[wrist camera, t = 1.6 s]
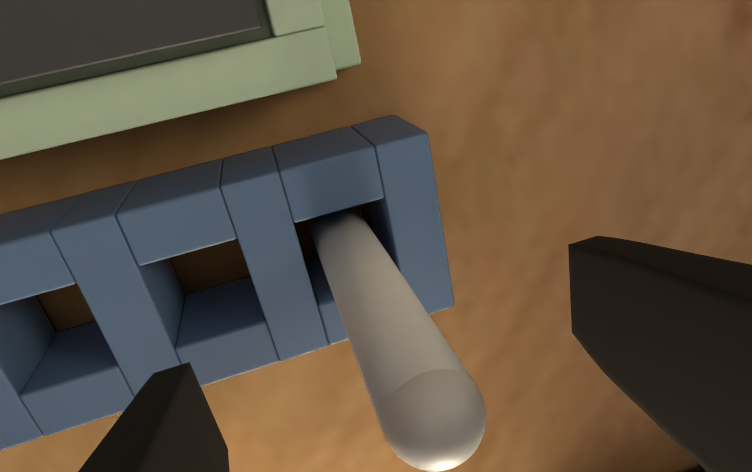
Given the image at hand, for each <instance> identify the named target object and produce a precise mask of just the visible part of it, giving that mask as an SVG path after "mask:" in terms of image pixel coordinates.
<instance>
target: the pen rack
mask: <svg viewBox="0 0 752 472" xmlns="http://www.w3.org/2000/svg"><path fill="white" fill-rule="evenodd" d="M365 203H368V207H369V212H370V216H371V221H372V225H373V230H374V234H375V236H376V237H377V239H378V240H379V241H380V243H381V244H382V246H383V247H384V249H385V250H386V252H387V253H388V255H389V256H390V258H391V259H392V261H393V262H394V264H395V265H396V267H397V268H398V270H399V271H400V273H401V274H402V276H403V277H404V278H405V280H406V281H407V283H408V284H409V286H410V287H411V289H412V290H413V292H414V293H415V295H416V296H417V298H418V299H419V301H420V302H421V304H422V305H423V307H424V308H425V310H426V311H427V313H428V314H431V313H434V312H437V311H441V310H444V309H447V308H450V307H453V306H454V297H453V291H452V285H451V278H450V272H449V265H448V259H447V253H446V246H445V240H444V233H443V227H442V221H441V214H440V208H439V201H438V195H437V189H436V182H435V176H434V169H433V163H432V156H431V150H430V144H429V137H428V133H427V132H426V131H424V130H422V129H420V128H418V127H416V126H414V125H412V124H410V123H409V122H407V121H405V120H403V119H401V118H399V117H397V116H395V115H391V116H387V117H383V118H379V119H375V120H371V121H367V122H364V123H360V124H356V125H352V126H351V127H344V128H340V129H336V130H332V131H328V132H325V133H321V134H317V135H313V136H309V137H305V138H301V139H297V140H293V141H289V142H285V143H281V144H277V145H274V146H272V148H271V147H270V146H269V147H265V148H261V149H257V150H253V151H249V152H245V153H241V154H237V155H233V156H229V157H225V158H224V159H223V160H222V159H219V160H215V161H211V162H207V163H203V164H199V165H195V166H191V167H187V168H183V169H179V170H175V171H171V172H167V173H163V174H160V175H156V176H152V177H148V178H144V179H140V180H139V181H138V182H137V181H131V182H127V183H123V184H119V185H116V186H112V187H108V188H104V189H100V190H96V191H92V192H88V193H86V194H85V195H83V194H81V195H77V196H73V197H69V198H65V199H61V200H57V201H53V202H49V203H45V204H41V205H37V206H34V207H30V208H26V209H22V210H18V211H14V212H10V213H6V214H2V215H0V451H1V450H4V449H7V448H10V447H13V446H16V445H19V444H22V443H26V442H29V441H32V440H35V439H38V438H41V437H42V436H44V435H45V436H48V435H51V434H54V433H58V432H61V431H64V430H67V429H70V428H73V427H76V426H80V425H83V424H86V423H89V422H92V421H95V420H98V419H101V418H105V417H108V416H111V415H114V414H117V413H120V412H123V411H125V409H126V408H127V407H128V405H129V404H130V402H131V401H132V400H133V398H134V397H135V396H136V394H137V393H138V392H139V390H140V389H141V388H142V387H143V385H144V384H145V383H146V381H147V380H148V379H149V378H150V377H151V376H152V374H153V373H155V372H159V371H162V370H165V369H168V368H172V367H175V366H178V365H181V364H185V363H188V362H190V364H191V366H192V368H193V371H194V373H195V375H196V378H197V380H198V382H199V384H200V387H202V386H205V385H208V384H211V383H214V382H217V381H220V380H224V379H227V378H230V377H233V376H236V375H239V374H242V373H246V372H249V371H252V370H255V369H258V368H261V367H264V366H268V365H271V364H274V363H277V362H279V360H280V361H284V360H288V359H291V358H294V357H297V356H300V355H303V354H306V353H309V352H313V351H316V350H319V349H322V348H325V347H328V345H329V344H330V345H333V344H336V343H339V342H342V341H345V340H348V339H349V338H348V335H347V333H346V330H345V327H344V324H343V322H342V319H341V316H340V313H339V311H338V308H337V305H336V302H335V299H334V297H333V294H332V291H331V288H330V286H329V283H328V280H327V277H326V275H325V272H324V269H323V266H322V263H321V261H320V258H319V257H316V258H312V259H309V260H306V261H304V258H303V254H302V251H301V247H300V244H299V241H298V237H297V234H296V230H295V227H294V223H293V221H294V222H300V221H304V220H307V219H311V218H314V217H318V216H321V215H325V214H329V213H332V212H336V211H339V210H343V209H347V208H350V207H354V206H357V205H361V204H365ZM236 238H238V241H239V244H240V247H241V250H242V252H243V255H244V258H245V261H246V264H247V267H248V270H249V273H250V277H246V278H243V279H240V280H236V281H233V282H229V283H226V284H222V285H219V286H215V287H212V288H209V289H205V290H202V291H198V292H195V293H191V294H188V295H186V297H185V295H184V293H183V290H182V288H181V285H180V283H179V280H178V278H177V276H176V273H175V271H174V268H173V266H172V264H171V261H170V259H169V258H170V257H174V256H177V255H181V254H185V253H188V252H192V251H195V250H199V249H202V248H206V247H210V246H213V245H217V244H220V243H224V242H228V241H231V240H235V239H236ZM75 283H77V285H78V287H79V288H80V290H81V292H82V294H83V296H84V298H85V300H86V302H87V304H88V306H89V308H90V310H91V312H92V314H93V316H94V318H95V320H96V321H95V322H92V323H88V324H85V325H81V326H78V327H74V328H71V329H68V330H64V331H61V332H58V333H57V334H56V332H55V330H54V328H53V327H52V325H51V323H50V321H49V319H48V318H47V316H46V314H45V312H44V310H43V309H42V307H41V305H40V303H39V301H38V300H37V298H36V296H35V295H38V294H41V293H45V292H48V291H52V290H56V289H59V288H63V287H66V286H70V285H74V284H75ZM328 343H329V344H328Z"/></svg>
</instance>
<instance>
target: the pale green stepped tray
mask: <svg viewBox="0 0 752 472" xmlns="http://www.w3.org/2000/svg"><path fill="white" fill-rule="evenodd" d="M255 3H256V6H257V10H258V14H259V17H260V21H261V27H260V28H259V29H254V30H250V31H245V32H240V33H236V34H231V35H227V36H222V37H218V38H213V39H208V40H204V41H199V42H195V43H190V44H185V45H181V46H176V47H172V48H167V49H163V50H158V51H153V52H149V53H144V54H140V55H135V56H130V57H126V58H121V59H117V60H112V61H108V62H103V63H98V64H94V65H89V66H85V67H80V68H76V69H71V70H66V71H62V72H57V73H53V74H48V75H43V76H39V77H34V78H30V79H25V80H21V81H16V82H11V83H7V84H2V85H0V160H2V159H6V158H10V157H14V156H18V155H23V154H27V153H31V152H35V151H39V150H44V149H48V148H52V147H56V146H60V145H65V144H69V143H73V142H77V141H81V140H85V139H90V138H94V137H98V136H102V135H106V134H111V133H115V132H119V131H123V130H127V129H132V128H136V127H140V126H144V125H148V124H152V123H157V122H161V121H165V120H169V119H173V118H178V117H182V116H186V115H190V114H194V113H198V112H203V111H207V110H211V109H215V108H219V107H224V106H228V105H232V104H236V103H240V102H245V101H249V100H253V99H257V98H261V97H265V96H270V95H274V94H278V93H282V92H286V91H291V90H295V89H299V88H303V87H307V86H312V85H316V84H320V83H324V82H328V81H332V80H336V79H337V74H336V71H337V70H341V69H346V68H350V67H354V66H358V65H360V64H361V57H360V52H359V47H358V42H357V37H356V32H355V27H354V22H353V17H352V12H351V7H350V2H349V0H255Z"/></svg>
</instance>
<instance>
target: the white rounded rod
mask: <svg viewBox="0 0 752 472" xmlns="http://www.w3.org/2000/svg"><path fill="white" fill-rule="evenodd" d="M309 229H310V233H311V236H312V239H313V241H314V244H315V247H316V250H317V252H318V255H319V258H320V261H321V263H322V266H323V269H324V272H325V275H326V277H327V280H328V283H329V286H330V288H331V291H332V294H333V297H334V299H335V302H336V305H337V308H338V311H339V313H340V316H341V319H342V322H343V324H344V327H345V330H346V333H347V335H348V338H349V341H350V344H351V347H352V349H353V352H354V355H355V358H356V360H357V363H358V366H359V369H360V372H361V374H362V377H363V380H364V383H365V385H366V388H367V391H368V394H369V396H370V399H371V402H372V405H373V408H374V410H375V413H376V416H377V419H378V421H379V424H380V427H381V430H382V432H383V435H384V437H385V439H386V441H387V443H388V445H389V447H390V448H391V449H392V451H393V452H394V453H395V454H396V455H397V456H398V457H399V458H400V459H401V460H403V461H404V462H405V463H407V464H409V465H410V466H412V467H415V468H417V469H421V470H425V471H430V472H439V471H445V470H448V469H452V468H454V467H456V466H458V465H460V464H462V463H463V462H465V461H466V460H467V459H468V458H469V457H470V456H471V455H472V454H473V453H474V452H475V451H476V449H477V448H478V446H479V444H480V442H481V439H482V437H483V434H484V431H485V425H486V410H485V405H484V401H483V398H482V395H481V393H480V391H479V389H478V387H477V385H476V384H475V382H474V381H473V379H472V378H471V376H470V375H469V373H468V372H467V370H466V369H465V367H464V366H463V364H462V363H461V361H460V360H459V358H458V357H457V356H456V354H455V353H454V351H453V350H452V348H451V347H450V345H449V344H448V342H447V341H446V339H445V338H444V336H443V335H442V333H441V332H440V330H439V329H438V327H437V326H436V324H435V323H434V321H433V320H432V318H431V317H430V316H429V314H428V313H427V311H426V310H425V308H424V307H423V305H422V304H421V302H420V301H419V299H418V298H417V296H416V295H415V293H414V292H413V290H412V289H411V287H410V286H409V284H408V283H407V281H406V280H405V278H404V277H403V276H402V274H401V273H400V271H399V270H398V268H397V267H396V265H395V264H394V262H393V261H392V259H391V258H390V256H389V255H388V253H387V252H386V250H385V249H384V247H383V246H382V244H381V243H380V241H379V240H378V239H377V237H376V236H375V234H374V233H373V231H372V230H371V228H370V227H369V225H368V224H367V222H366V221H365V219H364V218H363V216H362V215H361V213H360V212H359V210H358V209H357V208H356V206H354V207H350V208H347V209H343V210H339V211H336V212H332V213H329V214H325V215H321V216H318V217H314V218H311V219H309Z"/></svg>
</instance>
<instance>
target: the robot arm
mask: <svg viewBox="0 0 752 472" xmlns="http://www.w3.org/2000/svg"><path fill="white" fill-rule="evenodd" d="M568 247H569V271H570V295H571V318H572V333H573V334H574V335H575V337H576V338H577V339H578V341H579V342H580V343H581V345H582V346H583V347H584V348H585V350H586V351H587V352H588V354H589V355H590V356H591V357H592V359H593V360H594V361H595V362H596V363H597V365H598V366H599V367H600V368H601V369H602V371H603V372H604V373H605V374H606V375H607V376H608V377H609V378H610V379H611V380H612V381H613V382H614V383H615V384H616V385H617V386H618V387H619V388H620V389H621V390H622V391H623V392H624V393H625V394H626V395H627V396H628V397H629V398H631V399H632V400H633V401H634V402H635V403H636V404H637V405H638V406H639V407H640V408H641V409H642V410H643V411H644V412H645V413H646V414H647V415H648V416H649V417H650V418H651V419H653V420H654V421H655V422H656V423H657V424H658V425H659V426H660V427H661V428H662V429H663V430H664V431H665V432H666V433H667V434H668V435H669V436H670V437H671V438H673V439H674V440H675V441H676V442H677V443H678V444H679V445H680V446H681V447H682V448H683V449H684V450H685V451H686V452H687V453H688V454H689V455H690V456H691V457H692V458H694V459H695V460H696V461H697V462H698V463H699V464H700V465H701V466H702V467H703V468H704V469H705V470H706V471H707V472H752V265H750V264H745V263H739V262H734V261H729V260H724V259H719V258H714V257H709V256H704V255H699V254H694V253H689V252H685V251H680V250H675V249H670V248H665V247H660V246H656V245H651V244H646V243H641V242H635V241H630V240H624V239H618V238H611V237H602V236H595V237H592V238H589V239H585V240H582V241H579V242H576V243H573V244H569V245H568ZM78 472H229V460H228V448H227V446H226V444H225V441H224V439H223V437H222V435H221V432H220V430H219V428H218V426H217V423H216V421H215V419H214V416H213V414H212V412H211V410H210V407H209V405H208V403H207V400H206V398H205V396H204V394H203V391H202V389H201V387H200V384H199V382H198V380H197V378H196V375H195V373H194V371H193V368H192V366H191V364H190V362H188V363H185V364H181V365H178V366H175V367H172V368H168V369H165V370H162V371H159V372H155V373H153V374H152V376H151V377H150V378H149V379H148V380H147V381H146V383H145V384H144V385H143V387H142V388H141V389H140V390H139V392H138V393H137V394H136V396H135V397H134V398H133V400H132V401H131V402H130V404H129V405H128V407H127V408H126V409H125V411H124V412H123V413H122V415H121V416H120V417H119V419H118V420H117V421H116V423H115V424H114V425H113V427H112V428H111V429H110V431H109V432H108V433H107V435H106V436H105V437H104V439H103V440H102V441H101V443H100V444H99V445H98V447H97V448H96V449H95V450H94V452H93V453H92V454H91V456H90V457H89V458H88V460H87V461H86V462H85V464H84V465H83V466H82V468H81V469H80V470H79V471H78Z"/></svg>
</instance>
